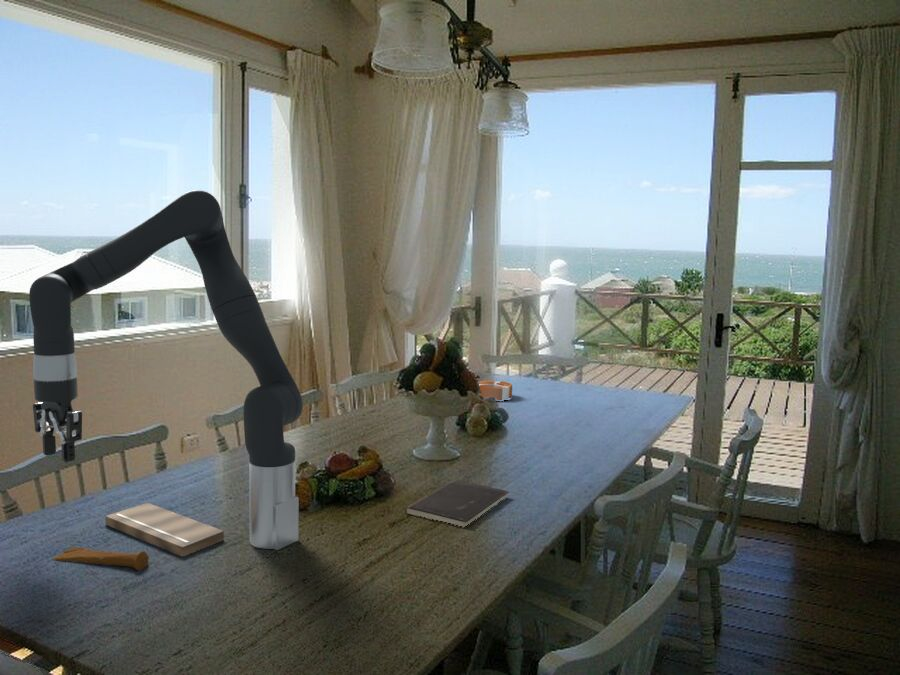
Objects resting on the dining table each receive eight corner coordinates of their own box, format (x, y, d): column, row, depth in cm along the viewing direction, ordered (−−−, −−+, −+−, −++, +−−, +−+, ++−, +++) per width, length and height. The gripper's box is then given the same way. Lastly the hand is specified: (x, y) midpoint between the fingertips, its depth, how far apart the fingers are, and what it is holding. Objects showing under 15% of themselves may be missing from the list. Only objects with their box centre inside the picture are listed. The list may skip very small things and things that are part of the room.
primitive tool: (50, 561, 138) (50, 544, 138) (71, 550, 144) (70, 533, 143) (139, 574, 135) (138, 557, 134) (157, 562, 140) (156, 545, 139)
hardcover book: (508, 500, 180) (508, 491, 180) (465, 530, 160) (466, 521, 160) (452, 487, 188) (452, 479, 187) (404, 515, 168) (405, 506, 167)
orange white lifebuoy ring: (468, 397, 293) (494, 393, 303) (493, 404, 282) (520, 400, 292) (468, 380, 292) (495, 377, 302) (494, 387, 281) (521, 383, 291)
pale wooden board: (223, 540, 150) (223, 530, 149) (182, 556, 141) (182, 546, 141) (147, 511, 164) (147, 502, 163) (105, 524, 155) (105, 515, 155)
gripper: (94, 378, 141) (97, 460, 143) (54, 368, 149) (58, 447, 151) (56, 383, 135) (59, 469, 137) (16, 373, 143) (21, 455, 145)
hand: (59, 457), depth 144 cm, fingers open, 6 cm apart
